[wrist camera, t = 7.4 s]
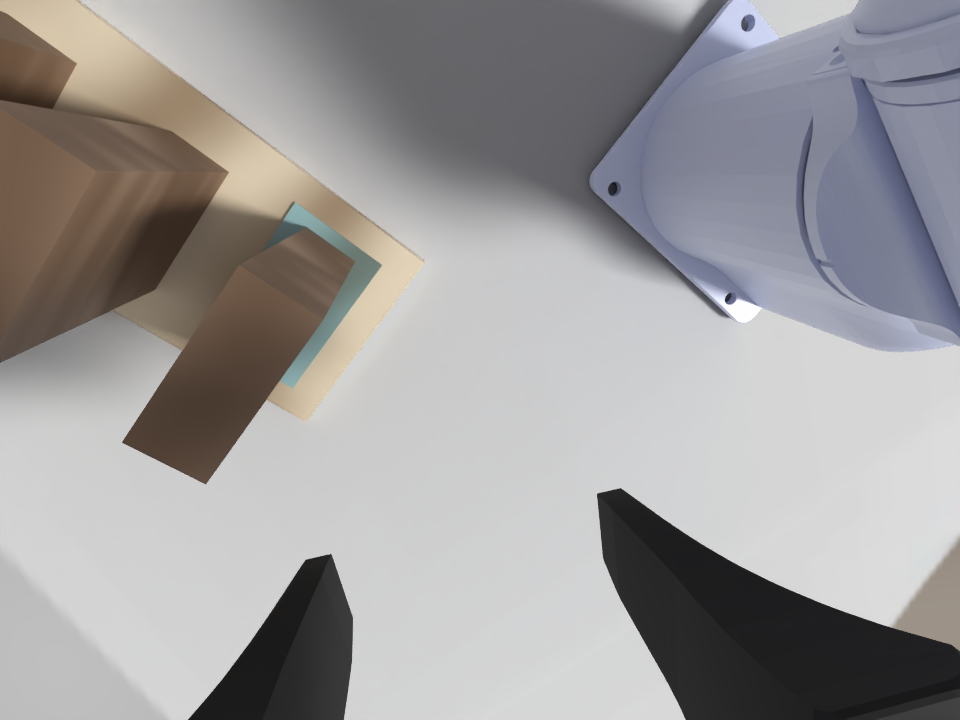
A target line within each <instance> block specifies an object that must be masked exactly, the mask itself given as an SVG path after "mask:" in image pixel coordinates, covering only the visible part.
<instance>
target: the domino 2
mask: <svg viewBox="0 0 960 720" xmlns="http://www.w3.org/2000/svg"><path fill="white" fill-rule="evenodd" d="M354 263H355V261H354V260H353V259H351V258H350V257H348V256H347V255H345V254H344V253H343V252H341V251H340V250H338V249H337V248H336V247H334V246H333V245H331V244H330V243H329V242H327V241H326V240H324V239H323V238H322V237H320V236H319V235H317V234H316V233H315V232H313V231H312V230H310V229H309V228H308V227H306V228H304V229H302V230H301V231H299V232H297V233H295V234H293V235H292V236H290V237H288V238H286V239H284V240H283V241H281V242H279V243H277V244H275V245H274V246H272V247H270V248H268V249H266V250H264V251H263V252H261V253H259V254H257V255H255V256H254V257H252V258H250V259H248V260H246V261H245V262H243V263H241V264H239V265H238V267H237V268H236V270H235V271H234V273H233V275H232V276H231V278H230V279H229V281H228V282H227V284H226V285H225V287H224V288H223V290H222V291H221V293H220V294H219V296H218V297H217V299H216V300H215V302H214V303H213V305H212V306H211V308H210V309H209V311H208V313H207V314H206V316H205V317H204V319H203V320H202V322H201V323H200V325H199V326H198V328H197V329H196V331H195V332H194V334H193V335H192V337H191V338H190V340H189V341H188V343H187V344H186V346H185V347H184V349H183V350H182V352H181V354H180V355H179V357H178V358H177V360H176V361H175V363H174V364H173V366H172V367H171V369H170V370H169V372H168V373H167V375H166V376H165V378H164V379H163V381H162V382H161V384H160V385H159V387H158V388H157V390H156V392H155V393H154V395H153V396H152V398H151V399H150V401H149V402H148V404H147V405H146V407H145V408H144V410H143V411H142V413H141V414H140V416H139V417H138V419H137V420H136V422H135V423H134V425H133V426H132V428H131V430H130V431H129V433H128V434H127V436H126V437H125V439H124V440H123V442H122V443H124V444H126V445H128V446H130V447H132V448H134V449H136V450H138V451H140V452H142V453H144V454H146V455H148V456H150V457H152V458H154V459H156V460H158V461H160V462H162V463H164V464H166V465H168V466H170V467H172V468H174V469H176V470H178V471H180V472H182V473H184V474H186V475H188V476H190V477H192V478H194V479H196V480H198V481H200V482H202V483H204V484H206V483H207V482H208V481H209V479H210V478H211V476H212V475H213V474H214V472H215V471H216V469H217V468H218V467H219V465H220V464H221V462H222V461H223V460H224V458H225V457H226V455H227V454H228V453H229V451H230V450H231V448H232V447H233V446H234V444H235V443H236V441H237V440H238V439H239V437H240V436H241V434H242V433H243V432H244V430H245V429H246V427H247V426H248V425H249V423H250V422H251V420H252V419H253V418H254V416H255V415H256V413H257V412H258V411H259V409H260V408H261V406H262V405H263V404H264V402H265V401H266V399H267V398H268V397H269V395H270V394H271V392H272V391H273V390H274V388H275V387H276V385H277V384H278V383H279V381H280V380H281V378H282V377H283V376H284V374H285V373H286V371H287V370H288V369H289V367H290V366H291V364H292V363H293V362H294V360H295V359H296V357H297V356H298V355H299V353H300V352H301V350H302V349H303V348H304V346H305V345H306V343H307V342H308V341H309V339H310V338H311V336H312V335H313V334H314V332H315V331H316V329H317V328H318V327H319V325H320V324H321V322H322V321H323V320H324V318H325V316H326V314H327V312H328V310H329V309H330V307H331V305H332V303H333V301H334V299H335V298H336V296H337V294H338V292H339V290H340V289H341V287H342V285H343V283H344V281H345V279H346V278H347V276H348V274H349V272H350V270H351V268H352V267H353V265H354Z"/></svg>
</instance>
